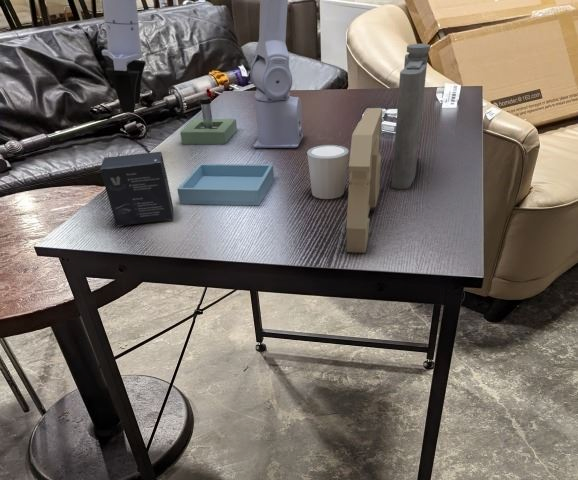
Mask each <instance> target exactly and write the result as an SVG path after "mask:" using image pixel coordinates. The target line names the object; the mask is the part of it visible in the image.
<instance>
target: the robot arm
mask: <svg viewBox="0 0 578 480" xmlns="http://www.w3.org/2000/svg"><path fill="white" fill-rule="evenodd" d="M101 2H102V10H103V11H102V12H103V19H104V25H105V32H106V41H107V48H108V49H102V50H101V55H102V56H104V57H105V56H106V57H108V58H110V59H111V61H113V67H108V66H107V67H106V68H105V72H106V75H107V77H108V78H109V80H110V82H111V84H112V86H113V88H114V91H115V94H116V97H117V99H118V103H119V106H120V109H121V112H122V113H125V114H135V109H136V105H138V104H140V103H141V102H140V101H141V92H142V91H141V90H142V80H143V79H142V78H143V74H144V70H145V67H146V64H147V63H146V60H141V59H143V58H144V57H143V56H144V55H143V51H142V46H141V45H142V44H141V36H140V25H139V16H138V14H139V13H138V3H137V0H101ZM288 2H289V0H259V26H258V27H259V31H258V37H259V38H258V41H257V43H256V47H255V52H254V53H255V55H254V59H253V62H252V65H251V67H250V73H249V74H250V75H249V76H250V81H251V82H252V85H253V86H254V87H255V88H256V90H255V94H254V103H255V105H254V106H255V114H256V115H255V116H256V126H257V127H256V128H257V139H256V141H255V143H254V144H253V148H254V149H296V148H298V147H299V145H300V143H301V142H302V140H303V138H304V133H303V111H302V110H303V109H302V100H301V97H299V96H291V93H290V92H291V90H292V87H293V75H292V72H291V68H290V55H289V51H288V47H287V44H286V43H287V42H286V40H287V39H286V38H287V20H288V19H287V18H288V5H289V3H288Z"/></svg>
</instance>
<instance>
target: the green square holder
mask: <svg viewBox="0 0 578 480" xmlns="http://www.w3.org/2000/svg"><path fill="white" fill-rule="evenodd" d="M212 120H213V126H214V127H218V128H217V129H200V127H204V121H203V118H194V119H193V120H192V121H191V122H189V124H188V125H187V126H185V127H184V128H183V129H181V131H180V138H181V144H182V145H226V144H227V143H228V142H229V140H230V139H231V138H233V136H234V135H235V134H236V133H237V131H238V127H237V119H236V118H212Z"/></svg>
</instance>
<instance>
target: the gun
mask: <svg viewBox="0 0 578 480" xmlns="http://www.w3.org/2000/svg"><path fill="white" fill-rule="evenodd" d="M382 121H383V107H367V108H366V109H365V111H364V113H363V115H362V117H361V118H360V121H358V123H357V125H356V127H355V128H354V130H353V132H352V134H351V141H350V142H351V143H350V151H349V159H348V160H349V161H348V172H349V177H348V178H349V179H348V182H349V183H350V184H348V195H347V209H346V210H347V211H346V253H358V254H359V253H362V254H364V253H366V252H367V247H368V246H367V245H368V239H369V234H370V233H369V232H370V217H369V214H370V211H374V210H375V209H376V207H377V203H378V199H379V194H380V189H381V169H382V155H381V154H380V146H381V145H380V142H381V136H382Z"/></svg>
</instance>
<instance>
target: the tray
mask: <svg viewBox="0 0 578 480" xmlns="http://www.w3.org/2000/svg"><path fill="white" fill-rule="evenodd" d="M274 179H275V172H274V164H258V163H257V164H253V163H252V164H250V163H249V164H247V163H246V164H245V163H244V164H243V163H242V164H240V163H199V164H198V165H197V166H196V167H195V168H194V169H193V171H192V172H191V173H190V174H189V175H188V176H187V177H186V178H185V179H184V181H183V182H182V183H181V184H180V185H179V186H178V187H177V188H176V190H177V196H178V200H179V204H181V205H219V206H221V205H222V206H223V205H224V206H225V205H226V206H230V205H231V206H260V205H261V204H262V201H263V199H264V198H265V196H266V195H267V193H268V191H269V189H270V187H271V186H272V183H273V182H274Z"/></svg>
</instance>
